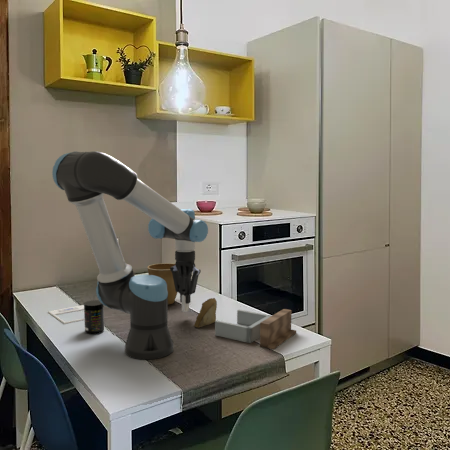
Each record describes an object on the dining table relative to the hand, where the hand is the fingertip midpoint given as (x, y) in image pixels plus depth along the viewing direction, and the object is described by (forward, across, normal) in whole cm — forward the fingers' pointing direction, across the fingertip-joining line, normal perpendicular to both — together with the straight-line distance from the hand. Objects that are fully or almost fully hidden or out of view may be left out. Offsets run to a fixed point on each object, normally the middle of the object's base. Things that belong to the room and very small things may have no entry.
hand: (185, 311), depth 180 cm
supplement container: (+4, +19, +28) cm, 34 cm away
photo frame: (+4, +41, +18) cm, 45 cm away
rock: (+4, -9, 0) cm, 10 cm away
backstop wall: (+3, -38, 0) cm, 38 cm away
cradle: (+3, -26, 0) cm, 26 cm away
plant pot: (+4, +21, -14) cm, 26 cm away
